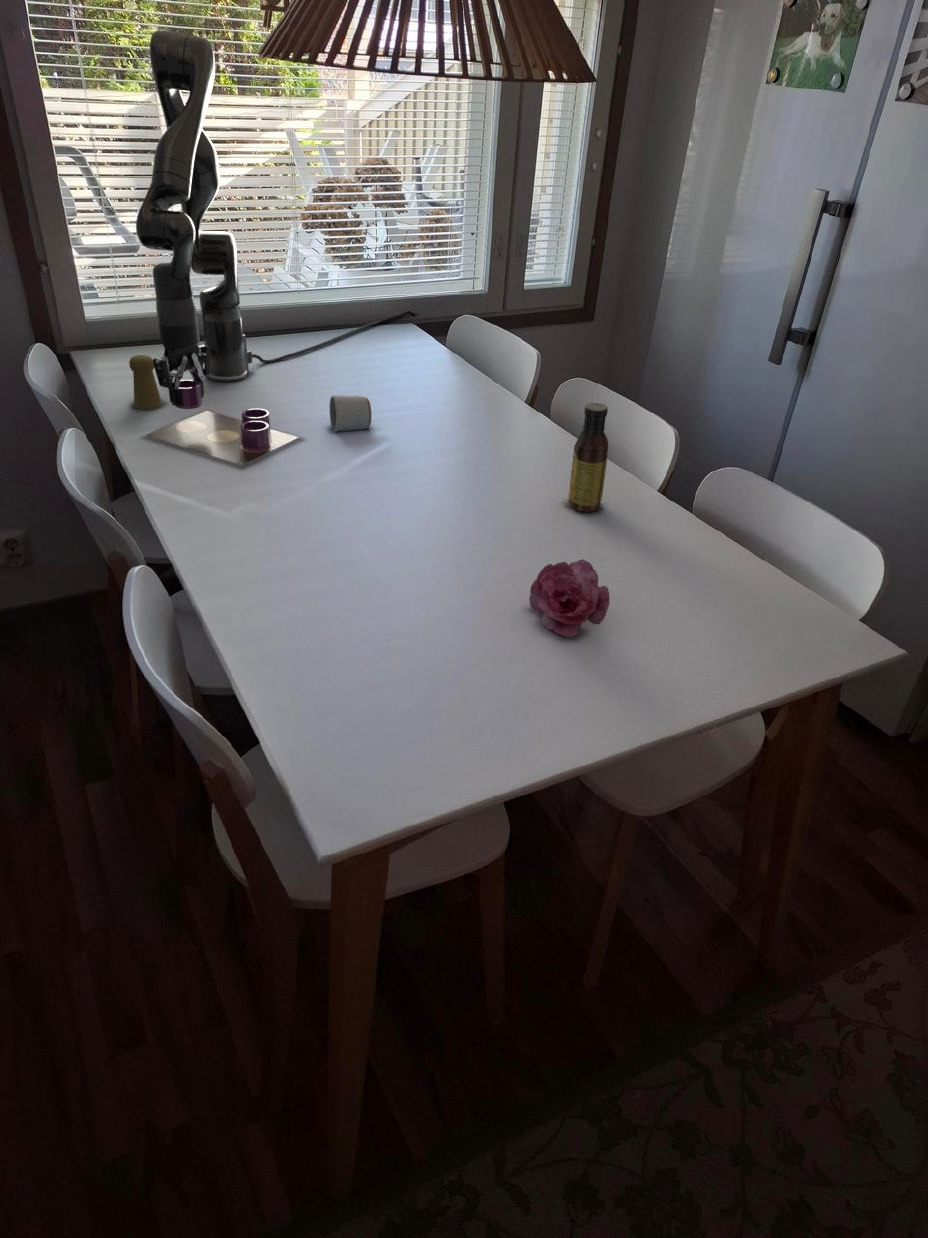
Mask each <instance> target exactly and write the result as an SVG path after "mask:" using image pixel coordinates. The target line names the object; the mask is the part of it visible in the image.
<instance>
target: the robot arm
mask: <svg viewBox="0 0 928 1238" xmlns="http://www.w3.org/2000/svg"><path fill="white" fill-rule="evenodd" d="M149 59H150V67H151V71H152V74H153V81H154V83H155V87H156V91H157V95H158V99H159V103H160V106H161V110H162V113H163V117H164V122H165V127H166V130H165V131H164V133H163V134H162V136H161V137H160V139H159V141H158V142H157V145H156V148H155V151H154V158H153V166H152V175H151V181H150V185H149V187H148V189H147V192H146V193H145V194H146V195H145V197H144V199H143V201H142V204H141V205H140V208H139V211H138V213H137V217H136V221H135V231H136V235H137V238H138V240H139V242H140V244H141V245H142V246H143V247H144V248H147V249H149V250H155V251H168V252H172V259H171V261H165V262H160V263H157V264H155V265H154V266H153V268H152V279H153V287H154V293H155V308H156V316H157V323H158V329H159V337H160V342H161V344H162V346H163V348H164V352H163V356H161V357H160V358H157V357H154V358H152V359H153V364H154V371H155V374H156V378H157V381H158V385H159V387H162V388H165V389H168V396H169V401H170V404H172V406H175V407H176V406H178V407H179V406H182V401H181V393H180V389H179V385H180V380H183V378H184V373H185V372H187V371H188V372H189V374H190V376H191V378H192V380H194V381H198V382H199V383H200V387H201V395H202V399H203V398H204V396H205V385H204V380H205V378H206V376H207V377H208V378H209V379H211V380H214V381H219V382H232V381H239V380H243V379H245V378H246V377H247V376H248V375H249V374H250V368H249V367H250V366H249V364H253V358H255V359H257V360H258V361H259V362H261V363H263V364H273V363H277V362H280V361H282V360H285V359H289V358H292V357H296V356H298V355H302V354H304V353H307V352H311V351H314V350H315V349H318V348H321V347H324V346H326V345H328V344H331V343H333V342H336V341H338V340H341V339H343V338H345V337H347V336H350V335H352V334H356V333H357V332H359V331H362V330H364V329H365V330H366V329H368V328H371V327H373V326H376V325H379V324H382V323H385V322H389V321H393V320H396V319H400V318H403V317H405V316H407V315H411V316H413V317H415V316H416V313H414V312H413V313H411V312H410V311H411V310H408V312H407V311H405V312H403V313H401V314H398V315H393V316H390V317H386V318H382V319H379V320H377V321H373V322H371V323H367V324H365V325H363V326H360V327H358V328H357V327H356V328H354V329H352V330H350V331H347V332H344V333H343V334H340V335H338V336H335V337H333V338H330V339H328V340H326V341H323V342H321V343H318V344H315V345H312V346H310V347H307V348H304V349H301V350H298V351H295V352H292V353H287V354H284V355H281V356H278V357H276V358H274V359H264V358H263V357H261V355H259V354H257V353H256V354H255V353H252V351H251V350H248V347H247V345H248V344H247V335H245V334H244V333H243V332H244V331H243V321H242V320H243V319H242V312H241V311H242V310H241V299H240V289H239V277H238V251H237V244H236V240H235V237H234V235H233V234H232V233H231V232H229V231H213V230H212V231H210V230H209V231H207V230H206V231H205V230H204V231H202V230H201V229H200V228H201V225H202V221H203V219H204V216H205V214H206V213H207V210H208V209H209V207H210V206H211V204H212V203H213V201H214V199H215V198H216V196H217V194H218V192H219V189H220V185H221V175H220V174H221V173H220V168H219V160H218V154H217V151H216V147H215V146H214V144H213V142H212V140H211V139H210V138H209V136H208V135H207V133H206V132H205V130H204V129H203V125H204V122H205V118H206V115H207V111H208V106H209V102H210V99H211V95H212V92H213V87H214V81H215V72H216V62H215V53H214V49H213V46H212V45H211V42H210V41H209V40H208V39H207V38H205V37H202V36H198V35H195V34H194V35H193V34H188V33H182V32H176V31H169V30H156V31H154V32H153V33H152V34H151V37H150V41H149ZM182 92H187V93H188V97H187V100H186V103H185V100H184V97H183V94H182ZM176 205H180V207H181V211H179V210H169V209H170V208H171V207H173V206H176ZM192 272H194V273H195V274H196V275H197V274H198V275H210V276H213V275H214V276H221V275H222V276H223V279H222V280H221V281H220V282H219V283H216V284H215V285H213V286H212V285H211V286H210V287H207V288H204V289H203V290H201V291H200V292H199V306H200V315H201V322H202V330H203V331H202V332H203V339H204V340H203V341H204V344H201V343H200V341H201V339H200V331H199V324H198V315H197V307H196V303H195V299H194V292H193V283H192ZM174 371H175V372H174Z"/></svg>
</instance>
